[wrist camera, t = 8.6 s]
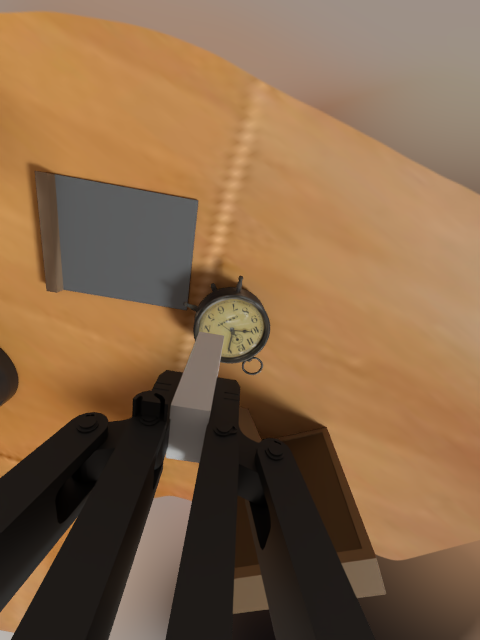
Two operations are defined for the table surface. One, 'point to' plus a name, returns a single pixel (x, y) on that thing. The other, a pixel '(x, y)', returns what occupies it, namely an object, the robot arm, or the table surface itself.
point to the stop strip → (49, 230)
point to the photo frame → (334, 510)
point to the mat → (125, 242)
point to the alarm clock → (233, 322)
